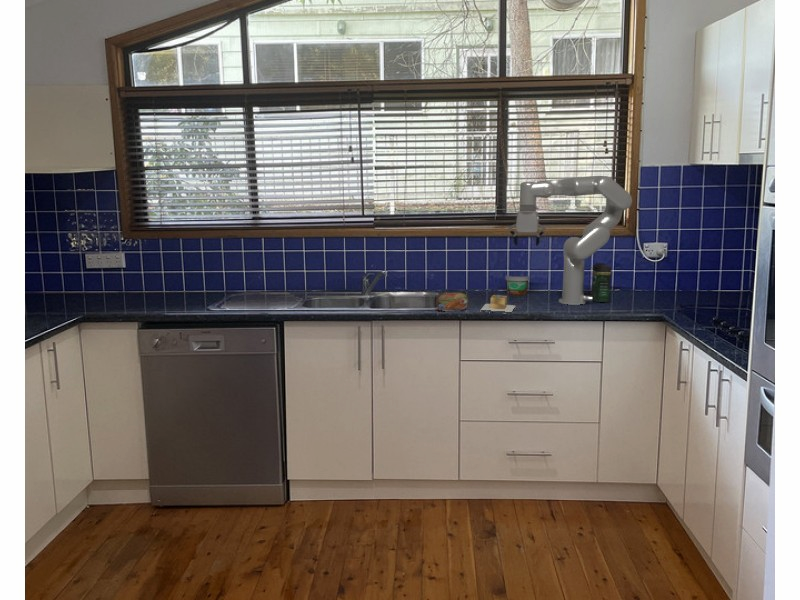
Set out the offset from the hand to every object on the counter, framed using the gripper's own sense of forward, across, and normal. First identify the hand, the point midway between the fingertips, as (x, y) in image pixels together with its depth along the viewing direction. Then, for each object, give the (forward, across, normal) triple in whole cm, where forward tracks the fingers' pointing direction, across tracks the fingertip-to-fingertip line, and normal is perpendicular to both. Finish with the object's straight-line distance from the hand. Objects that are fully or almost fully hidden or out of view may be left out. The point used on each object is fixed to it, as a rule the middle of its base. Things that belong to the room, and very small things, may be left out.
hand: (526, 245), depth 326 cm
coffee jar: (+29, -35, -16) cm, 48 cm away
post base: (+28, +10, +18) cm, 35 cm away
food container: (+28, +6, -19) cm, 35 cm away
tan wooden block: (+27, +10, +18) cm, 34 cm away
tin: (+28, +30, +26) cm, 49 cm away
